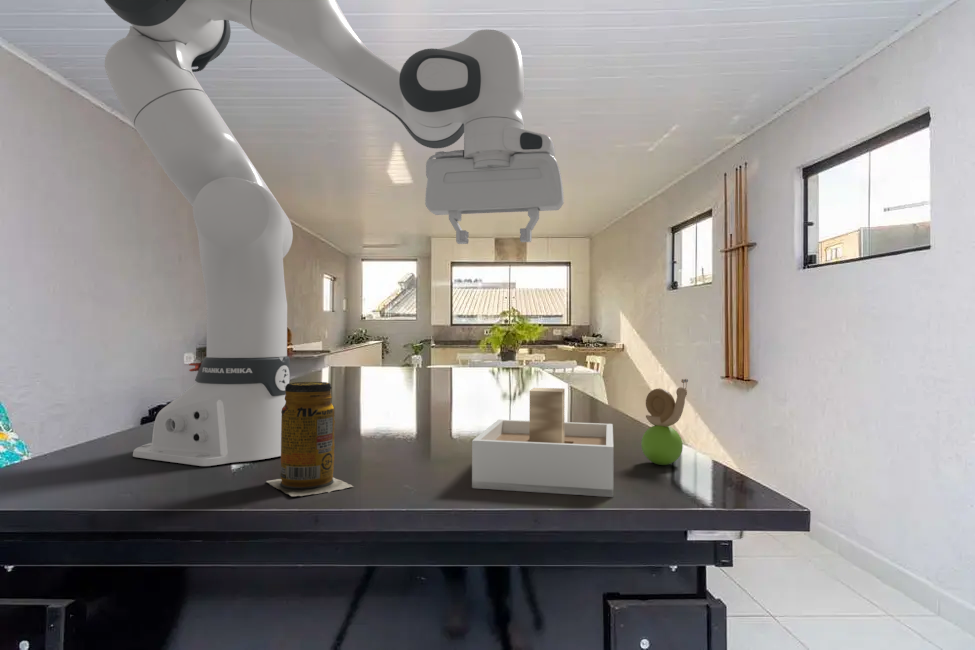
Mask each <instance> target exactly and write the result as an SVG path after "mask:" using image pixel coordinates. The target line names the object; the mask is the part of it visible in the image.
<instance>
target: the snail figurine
mask: <svg viewBox="0 0 975 650" xmlns="http://www.w3.org/2000/svg"><path fill="white" fill-rule="evenodd" d="M680 381H681V383H682V386H679V387H678V388H677V389H676V391H675V393H676V399H675V398H674V396H673V395H672V394H671V393H670V392H669V391H668V390H667V389H663V388H655V389H652V390H651V391H650V392H648V394H647V395H646V399H645V408H646V410H647V412H648V413H649V414H650V415H649V414H645V418H646V421H648V422H649V423H650V425H652V426H650V427H649V428H648V429H646V430H645V432H644V433H643V435H642V438H641V443H640V444H641V445H640V446H641V451H642V453H643V455H644V456H645V458H647V460H648V461H650V462H652V463H654V464H655V465H660V466H668V465H671V464H673V463H674V462H676V461H677V460H678V459H679V458H680V456H681V454H682V453H683V440H682V437H681V436H680V434H679V433H678V431H677V430H676V429H675V428H673V427H671V426H673V425H675V424H676V423H678V421H680V419H681V417H682V414H683V411H684V407H685V402H686V397H687V396H688V390H687V387H685V386H687V384H688V382H689V380H688V379H687V378H682V379H681V380H680Z"/></svg>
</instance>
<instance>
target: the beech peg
mask: <svg viewBox="0 0 975 650" xmlns="http://www.w3.org/2000/svg"><path fill="white" fill-rule="evenodd" d="M565 389H566V388H563V387H562V388H559V387H558V388H557V387H556V388H555V387H532V389H530V390H529V421H530V428H529V442H545V443H564V422H565V396H566V395H565V393H566V392H565V391H566V390H565Z"/></svg>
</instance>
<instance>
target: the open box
mask: <svg viewBox="0 0 975 650" xmlns="http://www.w3.org/2000/svg"><path fill="white" fill-rule="evenodd" d="M613 426H614V424H613V423H602V422H599V423H597V422H576V421H575V422H572V421H571V422H570V421H564V443H545V442H529V428H530V420H521V419H519V420H517V419H516V420H515V419H497V420H495V422H493V423H492V424H491V425H490V426H489V427H488V428H486V429H485V430H483V431H482V432H481V433H480V434H478V435H477V436H475V438H473V439H472V441H471V442H472V443H471V445H472V446H471V450H472V451H471V488H472V489H481V490H482V489H483V490H498V491H513V492H515V491H516V492H528V493H530V492H531V493H542V494H543V493H544V494H559V495H575V496H577V495H578V496H591V497H593V496H594V497H606V498H608V497H609V498H614V427H613Z"/></svg>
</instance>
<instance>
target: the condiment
mask: <svg viewBox="0 0 975 650" xmlns="http://www.w3.org/2000/svg"><path fill="white" fill-rule="evenodd" d="M285 392H286V395H285V401H286V404H285V405H284V407H283V408H282V411H281V413H282V416H281V417H282V419H281V456H280V478H276V479H271V480H270V479H269V480H266V481H265V482H266V483H267V484H269V485H270V486H271V487H273V488H276V489H278V490H279V491H281V492H283V494H286V495H289V496H290V497H303V496H310V495H317V494H322V493H331V492H333V491H338V490H339V491H340V490H345V489H348V488H354V487H355V486H354V485H352V484H351V483H350V484H349V483H348V482H345V481H343V480H341V479H338V478H336V477H334V467H335V448H336V447H335V446H336V445H335V444H336V443H335V424H336V421H335V407H334V405H333V403H332V397H333V396H332V384H331V383H330V382H326V381H293V382H290V383H289V384H287V385H286V388H285Z"/></svg>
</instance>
